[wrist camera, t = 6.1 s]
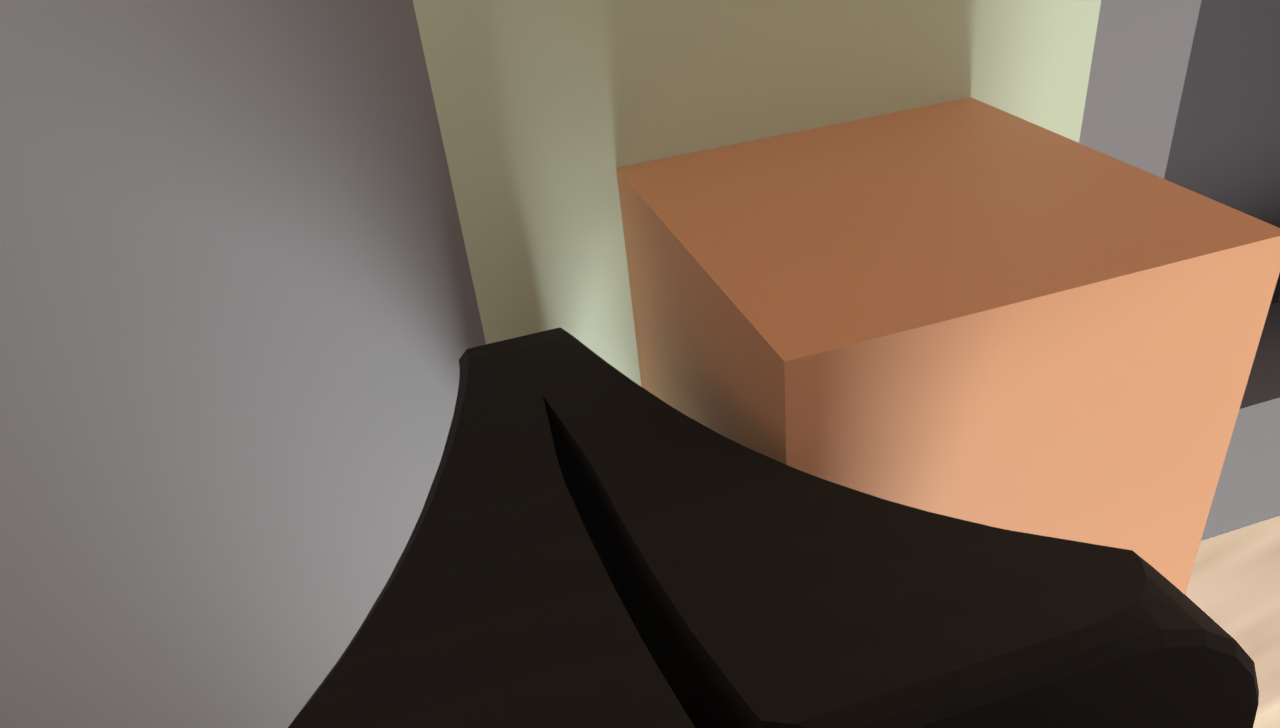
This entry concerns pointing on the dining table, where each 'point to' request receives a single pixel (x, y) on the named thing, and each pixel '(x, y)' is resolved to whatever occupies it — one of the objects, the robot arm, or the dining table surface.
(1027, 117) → the trap deck
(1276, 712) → the dining table surface
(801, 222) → the block
